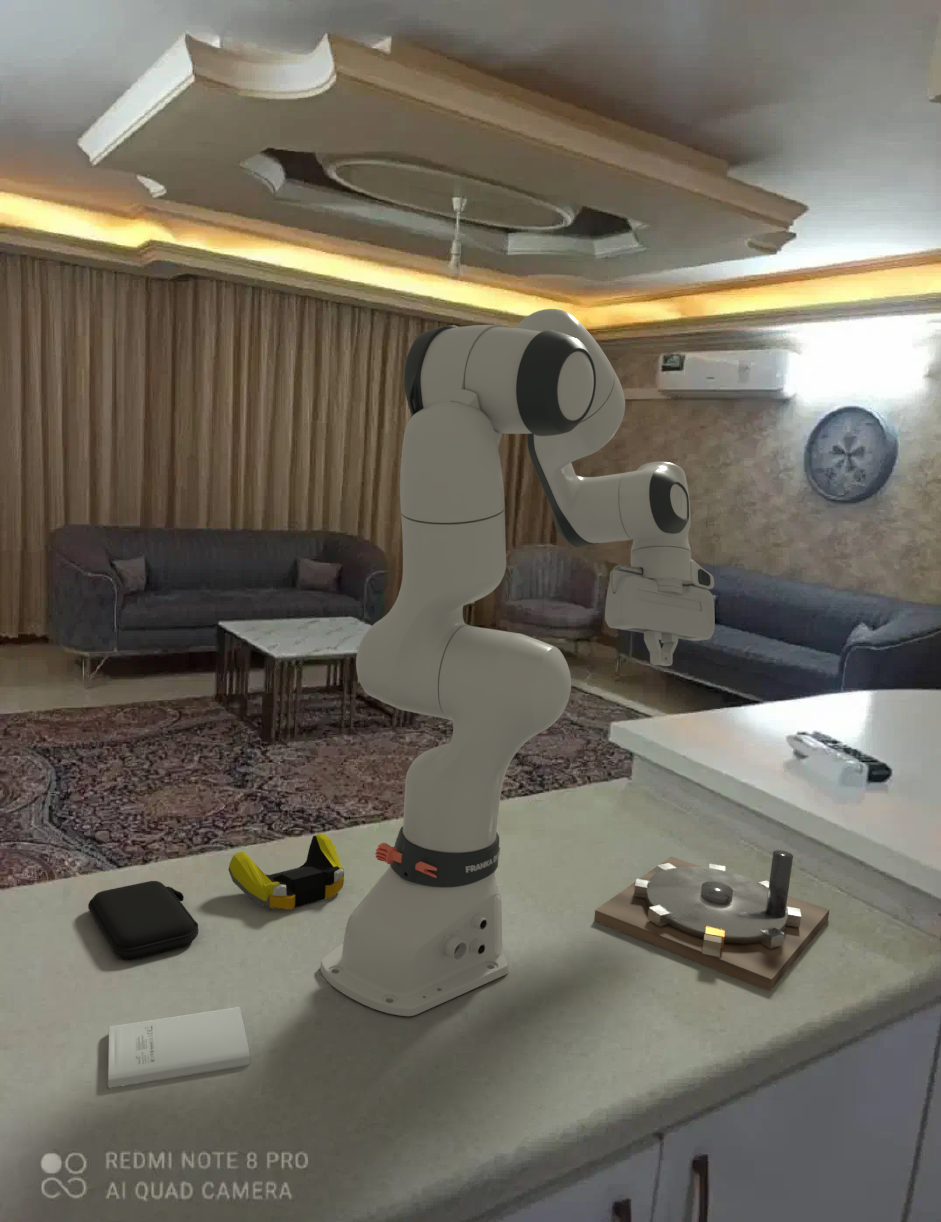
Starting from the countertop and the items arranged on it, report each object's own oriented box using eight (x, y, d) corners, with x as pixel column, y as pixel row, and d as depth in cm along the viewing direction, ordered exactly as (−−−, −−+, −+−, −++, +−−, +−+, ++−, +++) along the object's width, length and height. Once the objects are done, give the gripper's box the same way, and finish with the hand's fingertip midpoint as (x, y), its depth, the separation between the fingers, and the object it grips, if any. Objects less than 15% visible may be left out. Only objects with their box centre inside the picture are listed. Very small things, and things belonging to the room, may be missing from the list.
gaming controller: (223, 890, 119) (257, 923, 112) (224, 851, 118) (258, 881, 111) (323, 865, 129) (361, 893, 121) (325, 828, 128) (363, 854, 120)
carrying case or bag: (212, 946, 106) (171, 893, 118) (213, 921, 106) (171, 871, 117) (117, 970, 100) (84, 912, 112) (118, 945, 99) (84, 889, 111)
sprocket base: (769, 992, 104) (772, 965, 104) (593, 921, 118) (595, 897, 117) (828, 919, 123) (831, 897, 122) (670, 865, 136) (672, 845, 136)
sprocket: (670, 950, 108) (678, 875, 107) (616, 873, 128) (622, 809, 127) (828, 947, 112) (839, 874, 110) (751, 872, 132) (759, 809, 130)
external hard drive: (249, 1069, 86) (107, 1093, 81) (239, 1019, 93) (108, 1038, 89) (250, 1054, 86) (107, 1077, 81) (239, 1004, 93) (108, 1023, 89)
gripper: (627, 558, 127) (627, 656, 125) (721, 579, 139) (723, 669, 137) (595, 565, 132) (594, 660, 130) (688, 584, 144) (689, 672, 142)
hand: (661, 665), depth 133 cm, fingers closed
